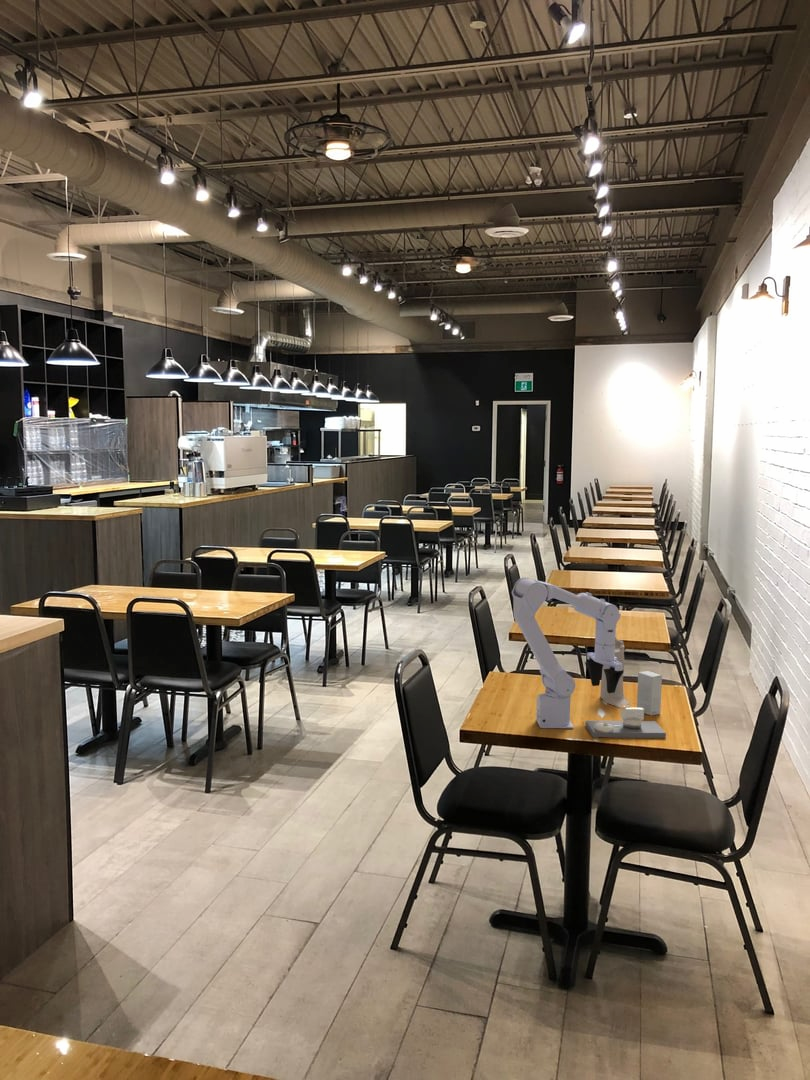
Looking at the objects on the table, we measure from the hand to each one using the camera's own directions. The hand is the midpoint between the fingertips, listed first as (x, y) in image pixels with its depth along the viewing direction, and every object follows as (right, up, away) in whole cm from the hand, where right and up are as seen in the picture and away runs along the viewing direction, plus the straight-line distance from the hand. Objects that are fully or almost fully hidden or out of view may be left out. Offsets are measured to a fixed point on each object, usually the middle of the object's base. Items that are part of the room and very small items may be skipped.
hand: (603, 689), depth 247 cm
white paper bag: (+9, -8, +20) cm, 23 cm away
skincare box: (+16, -9, +9) cm, 20 cm away
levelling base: (+4, -11, -9) cm, 14 cm away
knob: (+6, -9, -9) cm, 14 cm away
